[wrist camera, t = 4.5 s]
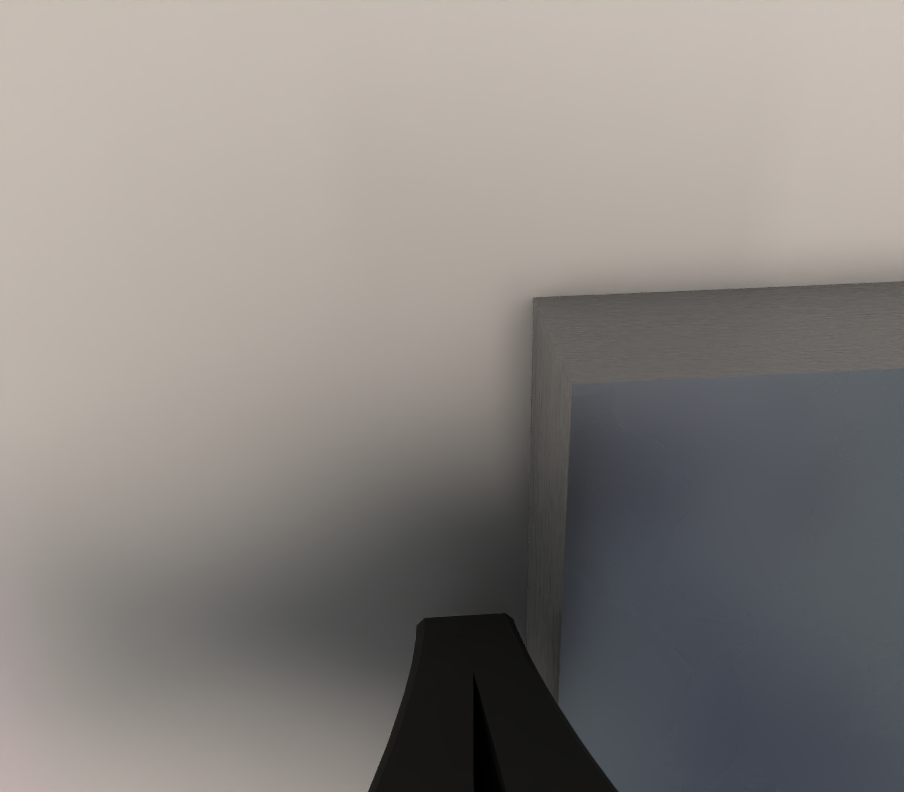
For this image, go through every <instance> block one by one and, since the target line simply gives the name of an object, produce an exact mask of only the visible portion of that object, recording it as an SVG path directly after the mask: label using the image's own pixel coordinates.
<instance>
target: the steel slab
mask: <svg viewBox="0 0 904 792" xmlns="http://www.w3.org/2000/svg"><path fill="white" fill-rule="evenodd" d="M526 649H527V651H528V653H529V655H530V657H531V659H532V661H533V663H534V665H535V667H536V668H537V670H538V672H539V674H540V676H541V677H542V679H543V681H544V683H545V684H546V686H547V688H548V689H549V691H550V693H551V694H552V696H553V698H554V699H555V701H556V703H557V704H558V706H559V707H560V709H561V710H562V712H563V713H564V715H565V717H566V718H567V720H568V721H569V723H570V724H571V726H572V727H573V729H574V731H575V732H576V734H577V735H578V737H579V738H580V739H581V741H582V742H583V744H584V745H585V747H586V748H587V750H588V751H589V752H590V754H591V755H592V757H593V758H594V759H595V761H596V762H597V763H598V765H599V766H600V768H601V769H602V770H603V772H604V773H605V774H606V776H607V777H608V778H609V780H610V781H611V782H612V784H613V785H614V786H615V788H616V789H617V790H618V792H904V282H882V283H859V284H836V285H813V286H790V287H768V288H745V289H722V290H699V291H676V292H653V293H630V294H607V295H584V296H561V297H539V298H533V347H532V396H531V445H530V494H529V543H528V592H527V642H526Z"/></svg>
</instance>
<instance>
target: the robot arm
mask: <svg viewBox="0 0 904 792" xmlns="http://www.w3.org/2000/svg"><path fill="white" fill-rule="evenodd" d="M368 792H618V790H617V789H616V788H615V786H614V785H613V784H612V782H611V781H610V780H609V778H608V777H607V776H606V774H605V773H604V772H603V770H602V769H601V768H600V766H599V765H598V763H597V762H596V761H595V759H594V758H593V757H592V755H591V754H590V752H589V751H588V750H587V748H586V747H585V745H584V744H583V742H582V741H581V739H580V738H579V737H578V735H577V734H576V732H575V731H574V729H573V727H572V726H571V724H570V723H569V721H568V720H567V718H566V717H565V715H564V713H563V712H562V710H561V709H560V707H559V706H558V704H557V703H556V701H555V699H554V698H553V696H552V694H551V693H550V691H549V689H548V688H547V686H546V684H545V683H544V681H543V679H542V677H541V676H540V674H539V672H538V670H537V668H536V667H535V665H534V663H533V661H532V659H531V657H530V655H529V653H528V651H527V649H526V647H525V645H524V643H523V641H522V639H521V637H520V635H519V632H518V630H517V628H516V625H515V623H514V620H513V619H512V618H511V617H510V616H509V615H507V614H506V613H500V614H484V615H468V616H452V617H436V618H424V619H423V620H422V621H421V622H420V623H419V624H417V631H416V643H415V649H414V655H413V660H412V665H411V669H410V673H409V677H408V681H407V685H406V688H405V692H404V696H403V699H402V702H401V705H400V708H399V711H398V714H397V717H396V720H395V723H394V726H393V729H392V732H391V735H390V738H389V741H388V744H387V746H386V749H385V751H384V754H383V756H382V759H381V761H380V764H379V766H378V769H377V771H376V774H375V776H374V779H373V781H372V784H371V786H370V788H369V791H368Z"/></svg>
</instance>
